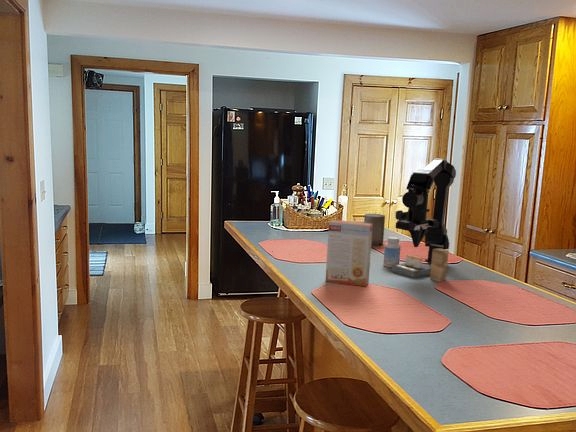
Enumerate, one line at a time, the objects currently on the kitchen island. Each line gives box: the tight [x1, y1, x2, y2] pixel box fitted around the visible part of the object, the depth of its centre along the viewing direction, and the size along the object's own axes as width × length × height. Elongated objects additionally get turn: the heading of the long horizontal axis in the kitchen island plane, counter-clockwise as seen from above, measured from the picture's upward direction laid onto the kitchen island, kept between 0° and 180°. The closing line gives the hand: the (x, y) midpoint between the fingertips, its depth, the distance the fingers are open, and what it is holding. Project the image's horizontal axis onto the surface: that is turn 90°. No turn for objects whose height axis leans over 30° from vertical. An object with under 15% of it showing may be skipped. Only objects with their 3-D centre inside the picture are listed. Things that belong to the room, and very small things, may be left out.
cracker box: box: [325, 219, 373, 287], centre depth 178 cm, size 14×6×21 cm, turn 71°
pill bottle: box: [382, 236, 401, 268], centre depth 206 cm, size 6×6×11 cm
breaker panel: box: [391, 262, 431, 279], centre depth 197 cm, size 12×10×3 cm
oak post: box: [429, 248, 450, 282], centre depth 189 cm, size 4×4×11 cm
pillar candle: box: [363, 212, 386, 246], centre depth 249 cm, size 10×10×15 cm
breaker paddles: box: [404, 254, 424, 268], centre depth 196 cm, size 2×7×4 cm, turn 38°
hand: (415, 247), depth 196 cm, fingers closed
